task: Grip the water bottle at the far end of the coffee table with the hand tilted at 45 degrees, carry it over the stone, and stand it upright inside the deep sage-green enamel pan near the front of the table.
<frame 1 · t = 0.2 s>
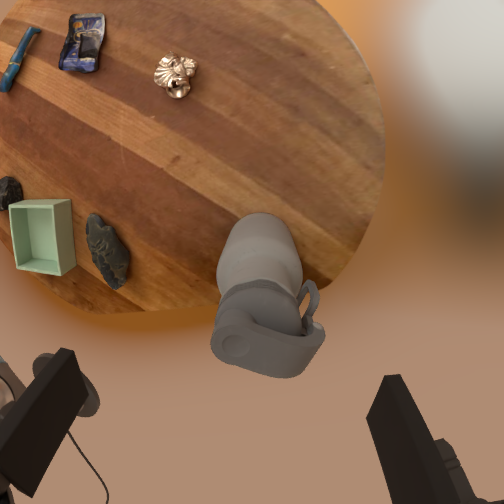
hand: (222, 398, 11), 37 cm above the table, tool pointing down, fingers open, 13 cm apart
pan: (49, 231, 48), on the table
ornament: (179, 75, 39), on the table
water bottle: (261, 242, 47), on the table
snack package: (90, 46, 37), on the table
figurine: (22, 60, 36), on the table
stone: (110, 246, 48), on the table
rock: (10, 195, 46), on the table
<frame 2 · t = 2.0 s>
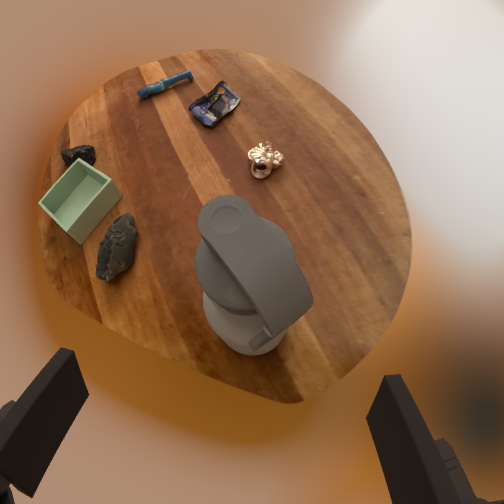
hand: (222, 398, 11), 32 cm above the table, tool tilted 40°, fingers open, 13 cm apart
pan: (84, 206, 53), on the table
ornament: (266, 165, 55), on the table
water bottle: (253, 324, 43), on the table
snack package: (217, 112, 62), on the table
figurine: (166, 89, 68), on the table
stone: (121, 250, 49), on the table
rock: (80, 162, 58), on the table
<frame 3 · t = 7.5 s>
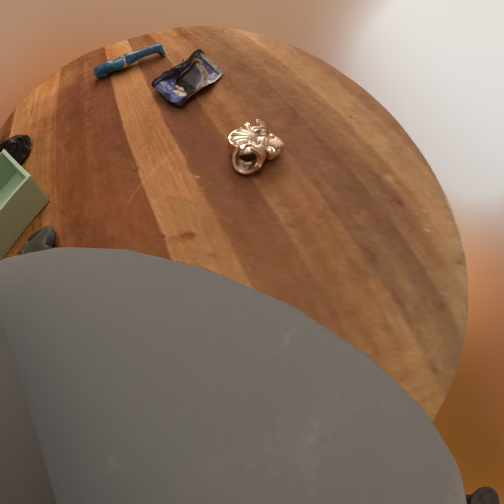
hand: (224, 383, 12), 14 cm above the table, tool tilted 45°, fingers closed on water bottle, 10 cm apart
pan: (5, 215, 32), on the table
ornament: (255, 155, 36), on the table
water bottle: (232, 418, 23), on the table, touching gripper
snack package: (190, 89, 44), on the table
figurine: (130, 67, 49), on the table
stone: (38, 281, 28), on the table
rock: (14, 157, 38), on the table
when the fingers open (14 cm above the table, at t = 20.7 s): water bottle stays where it is, resting on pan.
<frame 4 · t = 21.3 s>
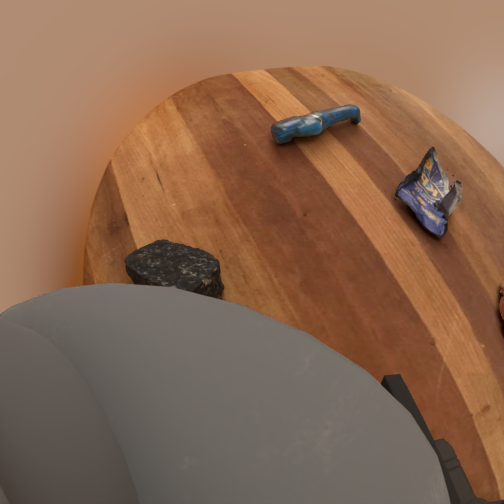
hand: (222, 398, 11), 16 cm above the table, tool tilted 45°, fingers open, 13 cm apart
water bottle: (234, 418, 24), resting on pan
snack package: (427, 202, 35), on the table
figurine: (315, 130, 41), on the table
rock: (177, 286, 30), on the table
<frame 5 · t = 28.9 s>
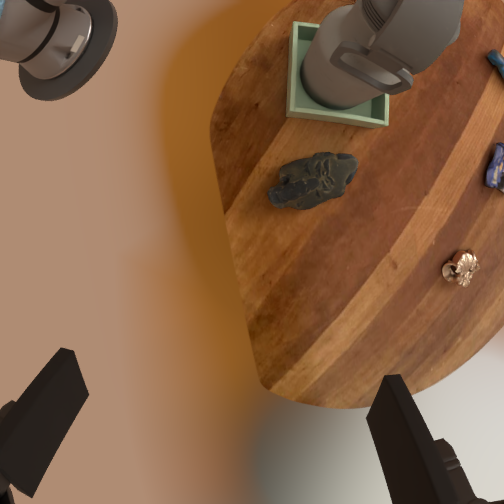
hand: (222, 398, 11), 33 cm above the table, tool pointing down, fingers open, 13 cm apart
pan: (332, 80, 35), on the table
ornament: (457, 265, 43), on the table
water bottle: (333, 79, 35), resting on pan
snack package: (502, 173, 38), on the table
stone: (312, 177, 40), on the table
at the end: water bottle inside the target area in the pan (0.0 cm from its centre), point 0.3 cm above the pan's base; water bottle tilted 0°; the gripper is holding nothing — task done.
